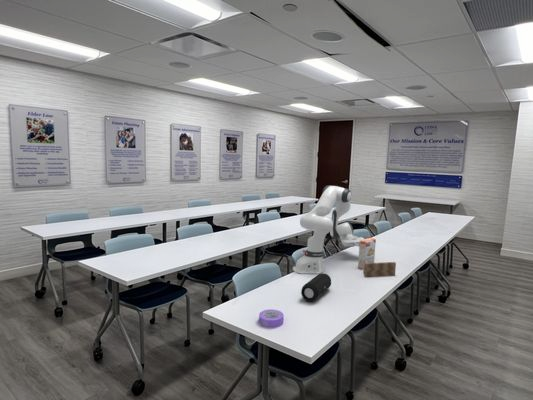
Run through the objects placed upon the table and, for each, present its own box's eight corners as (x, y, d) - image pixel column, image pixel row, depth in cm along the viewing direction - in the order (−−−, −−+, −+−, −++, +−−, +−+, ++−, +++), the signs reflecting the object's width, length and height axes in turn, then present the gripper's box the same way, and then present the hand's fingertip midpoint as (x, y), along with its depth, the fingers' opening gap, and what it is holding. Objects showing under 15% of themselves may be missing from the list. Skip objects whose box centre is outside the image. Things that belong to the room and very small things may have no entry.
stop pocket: (365, 277, 228) (366, 264, 227) (360, 273, 235) (361, 261, 234) (395, 275, 233) (395, 262, 232) (389, 272, 239) (390, 259, 238)
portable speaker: (316, 304, 183) (316, 286, 182) (299, 300, 188) (299, 283, 187) (332, 289, 205) (332, 273, 204) (316, 286, 210) (317, 270, 209)
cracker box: (365, 270, 243) (366, 241, 241) (357, 268, 247) (358, 240, 245) (374, 266, 253) (376, 238, 250) (367, 264, 257) (368, 237, 255)
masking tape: (255, 325, 159) (255, 317, 159) (264, 314, 170) (264, 307, 170) (278, 329, 155) (279, 322, 155) (286, 319, 166) (286, 311, 166)
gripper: (339, 237, 271) (347, 241, 258) (363, 236, 275) (372, 240, 262) (339, 245, 272) (347, 250, 259) (363, 244, 276) (371, 248, 263)
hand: (359, 245), depth 260 cm, fingers closed
